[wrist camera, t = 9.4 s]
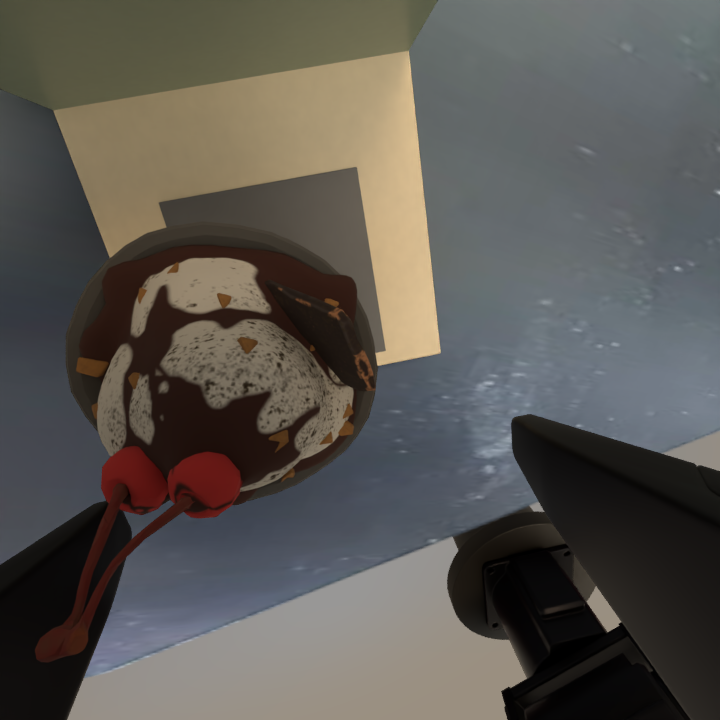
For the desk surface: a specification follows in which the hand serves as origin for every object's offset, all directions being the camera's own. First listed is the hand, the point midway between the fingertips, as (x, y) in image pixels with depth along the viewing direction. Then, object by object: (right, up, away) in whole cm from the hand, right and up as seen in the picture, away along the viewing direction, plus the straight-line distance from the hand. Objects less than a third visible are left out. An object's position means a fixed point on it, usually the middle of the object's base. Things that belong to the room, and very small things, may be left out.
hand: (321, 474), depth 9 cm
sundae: (-3, +6, +10) cm, 12 cm away
